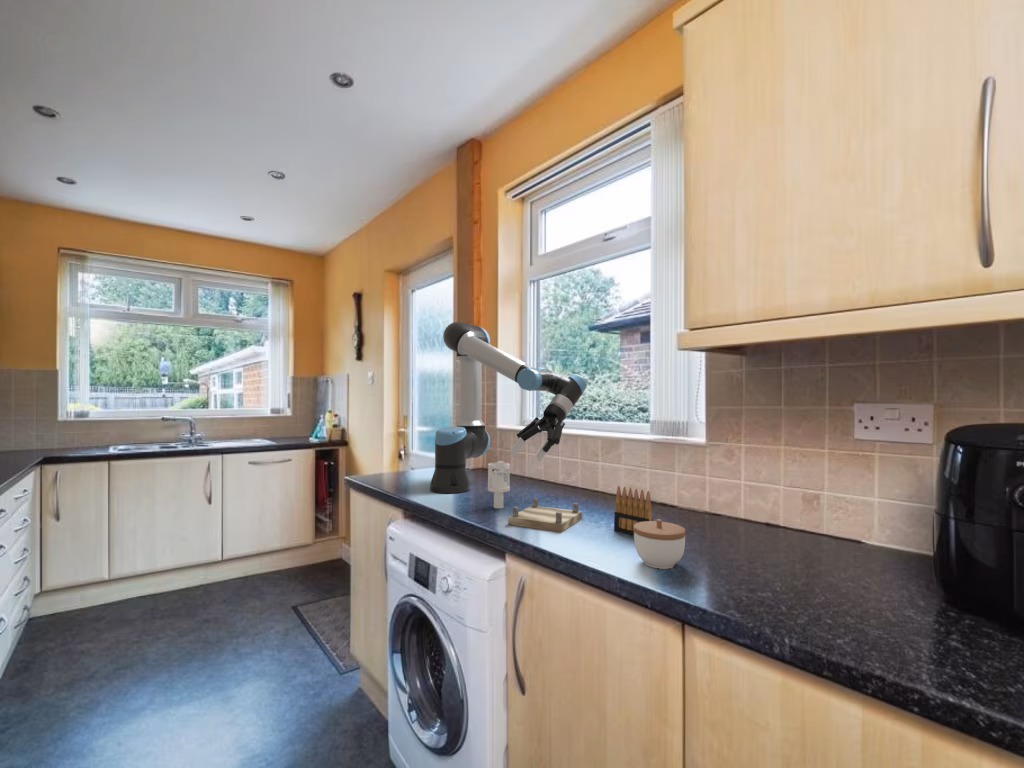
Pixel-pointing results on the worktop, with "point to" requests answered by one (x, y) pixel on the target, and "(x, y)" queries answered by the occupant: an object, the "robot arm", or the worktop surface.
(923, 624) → the worktop surface
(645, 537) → the lidded jar
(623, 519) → the ammunition clip
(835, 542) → the worktop surface
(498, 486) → the white stemmed cylinder
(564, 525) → the board
